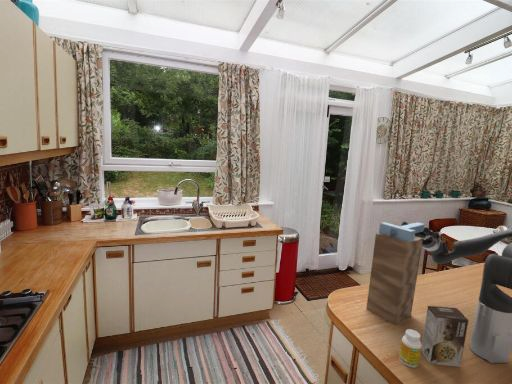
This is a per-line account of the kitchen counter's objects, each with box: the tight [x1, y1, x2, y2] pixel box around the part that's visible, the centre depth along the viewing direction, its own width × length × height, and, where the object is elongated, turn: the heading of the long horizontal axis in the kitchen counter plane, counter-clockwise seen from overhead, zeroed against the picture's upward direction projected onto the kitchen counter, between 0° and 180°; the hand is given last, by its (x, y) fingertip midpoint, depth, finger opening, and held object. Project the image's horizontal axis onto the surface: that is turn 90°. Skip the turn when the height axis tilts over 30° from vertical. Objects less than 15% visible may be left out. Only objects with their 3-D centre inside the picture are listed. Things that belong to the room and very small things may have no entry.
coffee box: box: [421, 305, 469, 368], centre depth 89 cm, size 9×6×16 cm
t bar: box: [378, 221, 426, 242], centre depth 112 cm, size 20×12×4 cm, turn 125°
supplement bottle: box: [398, 328, 422, 368], centre depth 88 cm, size 5×5×10 cm
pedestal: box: [366, 232, 423, 325], centre depth 112 cm, size 12×12×32 cm
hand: (414, 226), depth 115 cm, fingers open, 8 cm apart
